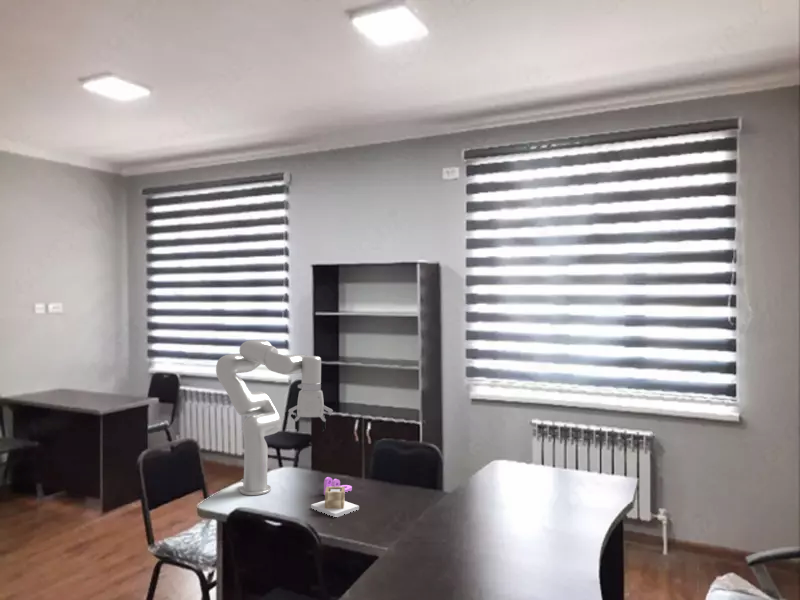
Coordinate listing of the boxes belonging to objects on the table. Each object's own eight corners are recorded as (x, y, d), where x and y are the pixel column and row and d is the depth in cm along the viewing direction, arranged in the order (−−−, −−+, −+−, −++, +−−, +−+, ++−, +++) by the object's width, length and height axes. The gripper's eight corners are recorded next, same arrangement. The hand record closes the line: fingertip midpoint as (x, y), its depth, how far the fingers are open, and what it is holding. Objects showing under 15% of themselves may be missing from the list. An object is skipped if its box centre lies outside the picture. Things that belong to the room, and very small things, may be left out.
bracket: (333, 497, 229) (334, 480, 230) (323, 495, 233) (324, 478, 233) (354, 489, 240) (354, 473, 240) (344, 487, 243) (344, 471, 243)
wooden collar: (324, 508, 212) (325, 492, 212) (326, 502, 219) (326, 486, 219) (343, 508, 213) (343, 492, 213) (344, 502, 220) (344, 486, 220)
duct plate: (310, 508, 216) (311, 490, 216) (334, 501, 225) (335, 483, 225) (335, 517, 207) (335, 498, 207) (359, 509, 216) (359, 491, 216)
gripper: (287, 388, 219) (286, 433, 218) (332, 389, 219) (331, 433, 219) (290, 386, 226) (289, 429, 226) (333, 386, 227) (333, 429, 226)
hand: (310, 431), depth 222 cm, fingers open, 9 cm apart
